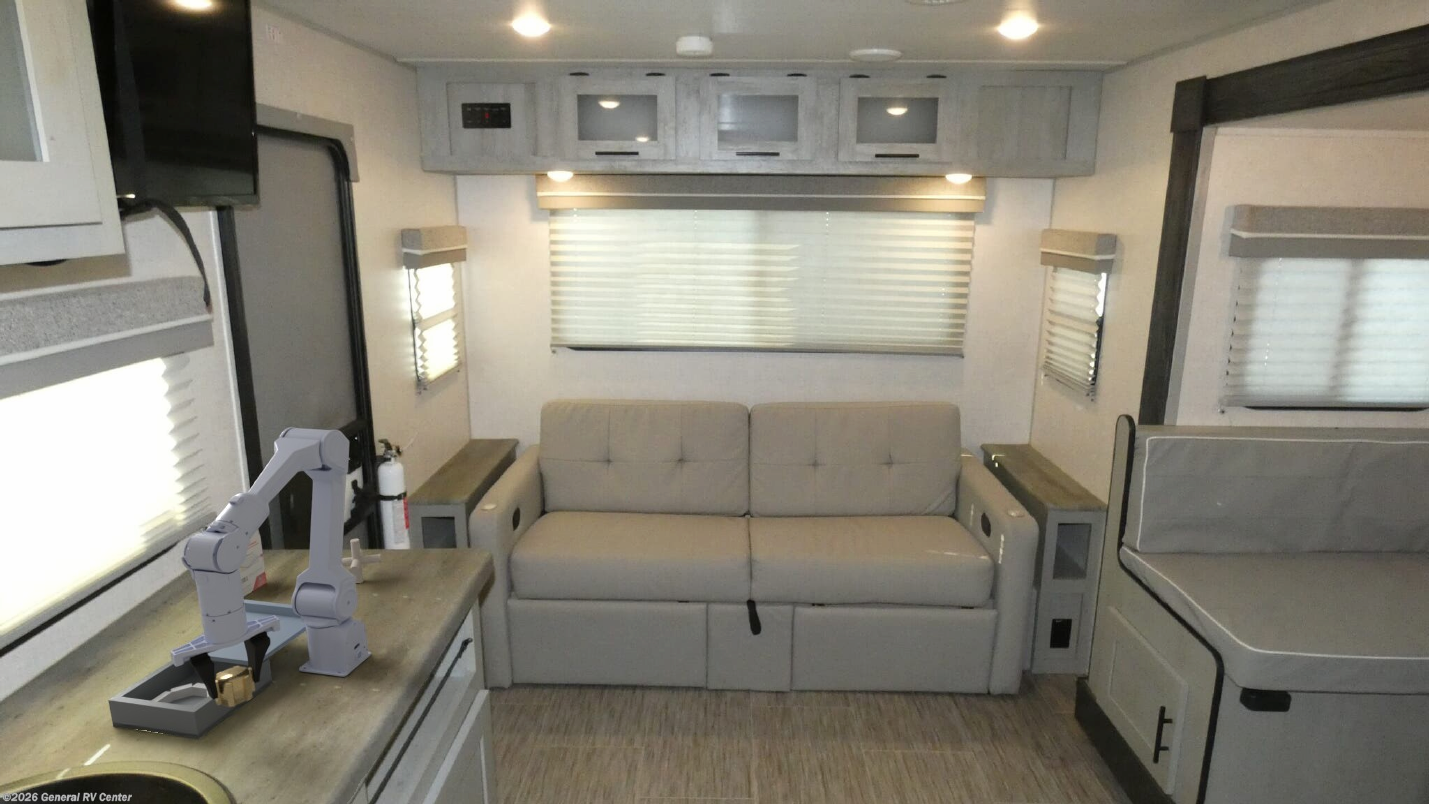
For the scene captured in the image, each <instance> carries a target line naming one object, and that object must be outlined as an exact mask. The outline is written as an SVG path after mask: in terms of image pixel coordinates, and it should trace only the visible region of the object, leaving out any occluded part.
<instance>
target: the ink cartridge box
mask: <svg viewBox="0 0 1429 804" xmlns="http://www.w3.org/2000/svg"><path fill="white" fill-rule="evenodd" d="M250 541H251V542H250V545H249V547H248V549H247V555H246V558H245V561H244V563H243V564H242V565H241V566H240V567H239V569H240V576H241V583H242V590H243V597H246V596H247V595H249V594H251V593H252V591H253V592H254V591H256V590H257V589H260V588H261V587H263V586H264V585H266V584H267V583H268V582H267V574H266V573H267V572H266V568H265V567H266V565H265V559H264V554H263V546H262V539H261V534H260V531H259V529H258V530H257V531H256V532H255V533H254V535H253V536H252V537H251V539H250Z"/></svg>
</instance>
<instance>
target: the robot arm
mask: <svg viewBox="0 0 1429 804" xmlns="http://www.w3.org/2000/svg"><path fill="white" fill-rule="evenodd" d="M273 448H274V449H273V451H274V454H273V456H272V457H271V459H270V460H269V462H268V463H267V464H266V466H265V467H264V468H263V470H262V472H261V473H260V474H259V476H257V479H256V480H255V481H254V483H253V485H252V486H251V487H250V488H249V490H248V491H246V492H239V493H237V494H235V495H233V496H231V498H230V499H229V501H228V503H227V505H226V506H225V507H224V508H223V509H222V511H221V512H220V513H218V515H217V516H216V518H215V519H213V521H212V522H211V523H210V524H209V526H208V527H207V528H206V529H205V530H203V531H200V532H197V533H196V534H194V535H193V536H191V537H190V538H189V539H188V540H187V542H186V543H185V545H184V548H183V555H182V556H181V558H180V559H181V563H182V564H183V566H184V567H185V568H186V569H187V570H188V571H189V572H190V574H191V575H190V576H191V580H193V581H194V582H195V586H196V591H197V597H198V604H199V611H200V617H201V618H200V619H201V623H202V629H203V630H202V631H203V633H204V635H203V636H201V637H199V638H197V637H196V638H197V639H195V638H194V639H195V640H193V639H192V640H193V641H192V640H190V641H191V642H190V641H188V642H189V643H188V642H187V643H185V644H183V645H181V646H179V647H176V648H173V649H171V650H170V651H169V652H170V653H169V654H170V659H171V660H172V663H173V664H174V665H175V666H176V667H177V666H180V665H183V664H184V662H185V661H189V662H190V664H191V665H192V666H193V667H194V668H195V670H196V671H197V672H198V674H199V675H200V677H201V679H202V680H203V682H204V684H205V686H206V688H207V691H208V694H209V696H210V697H211V698H212V699H216V698H218V691H217V687H216V682H215V672H214V667H215V663H214V662H213V661H212V660H211V658H210V656H209V655H208V653H211V652H214V651H216V650H219V649H223V648H228V647H231V646H234V645H237V644H239V643H241V642H243V641H244V644H245V648H246V652H247V657H248V668H249V667H251V668H252V671H253V680H254V682H255V683H257V682H259V681H260V673H261V667H262V663H263V660H264V657H265V654H266V652H267V650H268V648H269V646H270V637H268V636H267V632H270V631H273V632H276V631H279V630H281V629H280V621H279V618H277V617H276V616H275V615H273V616H270V617H266V618H262V619H257V620H252V621H247V618H246V611H245V604H244V600H245V599H244V597H245V596H244V597H243V590H242V583H241V576H240V569H239V567H240V566H241V565H242V564H243V563H244V561H245V558H246V555H247V549H248V547H249V545H250V542H251V541H250V539H251V537H252V536H253V535H254V533H255V532H256V531H257V530H259V529H260V527H261V526H262V525H263V524H264V522H265V521H266V519H267V518H268V517H269V516H270V505H269V503H270V502H271V501H272V500H274V498H275V497H276V496H277V495H278V494H279V493H280V491H282V489H283V488H285V486H286V485H287V484H288V483H289V482H290V481H291V480H292V478H294V477H295V476H296V475H297V473H299V472H304V473H305V474H306V475H307V476H309V478H311V479H312V494H311V495H312V500H311V517H310V518H311V519H310V537H309V538H310V539H309V540H310V542H309V558H308V559H309V561H308V568H307V569H305V570H303V571H302V572H301V573H299V574H298V575H297V577H296V583H295V588H294V591H293V593H292V595H291V605H292V609H293V611H294V613H295V614H296V615H298V616H301V622H304V623H305V625H306V631H305V632H306V640H307V641H306V642H307V649H308V657H309V660H308V661H306V662H305V663H304V664H302V665H301V666H300V667H299V668H298V670H299V672H305V673H311V674H319V675H325V676H326V675H327V676H328V675H329V676H335V677H343V678H344V677H347V676H348V675H349V674H350V673H352V672H354V670H355V669H356V668H358V666H360V665H361V664H362V663H363V662H364V661H365V660H366V659H368V658H369V657H370V656H371V655H372V652H371V651H369V648H368V646H369V645H368V638H367V636H368V635H367V628H366V624H365V623H364V622H363V621H362V620H361V619H357V618H355V617H353V616H352V615H354V613H355V611H356V609H357V608H358V607H357V606H358V602H359V593H358V590H357V588H356V584H355V576H354V574H352V573H351V572H350V570H348V569H347V568H346V566H343V565H342V558H343V548H344V547H343V546H344V545H343V543H344V529H345V528H344V527H345V526H344V525H345V506H346V505H345V503H346V483H347V474H348V472H349V455H350V440H349V439H348V438H347V437H346V436H345V434H344V433H343V432H342V431H341V430H339V429H328V430H327V429H315V428H300V427H295V426H289V427H287V428H285V429H284V430H283V431H282V432H281V434H280V435H279V436H278V438H277V439H275V440H274V444H273ZM171 660H170V661H171Z"/></svg>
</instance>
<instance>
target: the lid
mask: <svg viewBox="0 0 1429 804" xmlns="http://www.w3.org/2000/svg"><path fill="white" fill-rule="evenodd" d="M244 604H245V611H246V618H247V621H252V620H257V619H262V618H266V617H270V616H273V615H275V616H276V617H277V618H279V621H280V629H281V630H279V631H276V632H273V631H270V632H267V636H268V637H270V646H269V648H268V650H267V652H266V654H265V657H264V660H266V659H267V658H270V657H271V656H273V655H274V654H275V653H277V652H278V651H279V650H281V649H282V648H284V647H285V646H287V645H288V644H289V643H290V642H292V641H294V640H295V639H296V638H299V636H300V635H302V634H303V633H304V632H306V625H305V623H304V622H301V616H298V615H296V614H295V613H294V611H293V609H292V604H290V603H279V602H271V601H270V602H269V601H261V600H252V599H244ZM203 635H204V632H203V633H201V634H200V635H198V636H197V637H195V638H192V639H191V640H190V641H188V642H187V643H189V642H191V641H193V640H195V639H197V638H199V637H201V636H203ZM208 655H209V656H210V658H211V660H212V661H219V662H227V663H235V664H243V665H248V657H247V652H246V648H245V644H244V641H243V642H241V643H239V644H237V645H234V646H231V647H228V648H223V649H219V650H216V651H214V652H211V653H208ZM264 660H263V661H264Z"/></svg>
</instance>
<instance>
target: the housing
mask: <svg viewBox="0 0 1429 804" xmlns="http://www.w3.org/2000/svg"><path fill="white" fill-rule="evenodd" d="M213 662H214V663H215V667H214V672H215V680H216V674H217V673H219V672H223V671H225V670H227V669H230V668H233V667H234V666H240V667H246V668H248V665H243V664H235V663H227V662H219V661H213ZM272 678H273V677H272V671H271V663H270V657H268V658H267V659H266V660H264V661H263V663H262V667H261V673H260V681H259V682H257V683H255V682H254V685H255V691H253V692H252V697H253V698H255V697H257V696H258V695H259V694H260V693H261V692H262V691H264V690H265V689H267V688H268V687H270V686H271V685H272V684H273V679H272ZM253 698H251V699H250V700H246V701H245V702H242V703H240V704H237V705H235V706H232V707H229V706H224V705H221V704H220V705H217V704H216V700H215V699H212V698H211V697H210V696H209V694H208V691H207V688H206V686H205V684H204V682H203V680H202V679H201V677H200V675H199V674H198V672H197V671H196V670H195V668H194V667H193V666H192V665H191V664H190V662H189V661H185V662H184V664H183V665H180V666H177V667H176V666H175V665H174V664H173V663H172V660H170V661H167V663H165V664H163V665H162V666H160V667H158V668H157V669H155V670H154V671H153V672H151V673H149V674H148V675H146V676H145V677H143V678H141V679H139V680H138V681H137V682H135V683H133V684H132V685H130V686H128V687H126V688H125V689H124V690H122V691H121V692H119V693H117V694H115V695H114V696H112V697H111V698H109V699H108V700H107V701H108V706H109V712H110V716H111V722H112V723H111V724H112V726H113V727H114V728H121V729H126V728H127V730H132V729H138V730H137V731H139V730H147V731H151V732H150V733H152V732H158V733H157V734H159V733H163V734H162V735H167V736H172V735H173V736H172V737H181V738H186V739H194V740H199V739H201V738H202V737H204V736H206V735H207V734H208V733H209V732H211V730H213V729H214V728H215V727H218V725H219V724H221V723H222V722H224V721H225V720H226V719H228V718H229V717H230V716H231V715H233V714H234V713H235V712H236V711H238V710H240V709H241V708H242V707H243V706H244V705H246V704H247V703H249V702H250V701H251V700H253Z"/></svg>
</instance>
